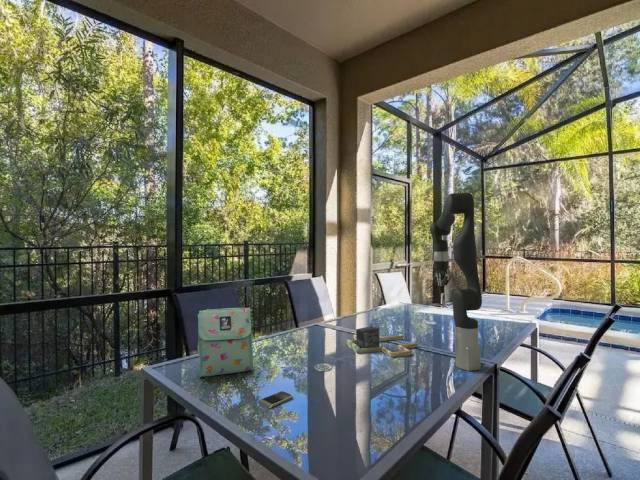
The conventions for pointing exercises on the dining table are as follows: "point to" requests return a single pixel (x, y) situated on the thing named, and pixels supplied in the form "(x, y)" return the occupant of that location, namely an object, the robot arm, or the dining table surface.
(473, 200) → the robot arm
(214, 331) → the lunch bag
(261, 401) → the cell phone
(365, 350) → the trap course
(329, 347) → the dining table surface
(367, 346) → the small box
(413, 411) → the dining table surface
